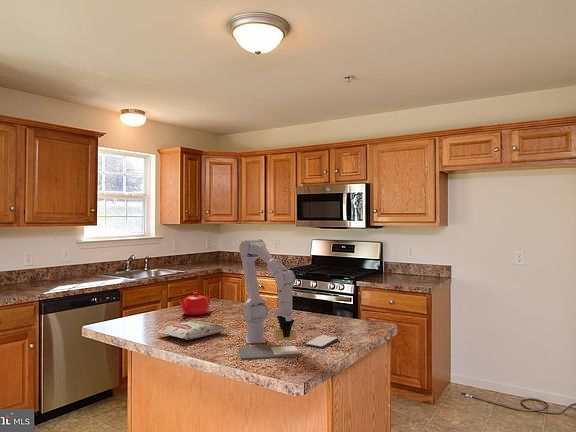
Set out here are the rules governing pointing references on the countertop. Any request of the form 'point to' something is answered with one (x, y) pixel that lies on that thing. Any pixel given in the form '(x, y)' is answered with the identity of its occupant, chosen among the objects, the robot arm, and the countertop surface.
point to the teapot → (195, 305)
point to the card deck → (279, 336)
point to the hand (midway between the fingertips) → (285, 335)
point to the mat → (268, 352)
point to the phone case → (321, 341)
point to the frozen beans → (192, 329)
